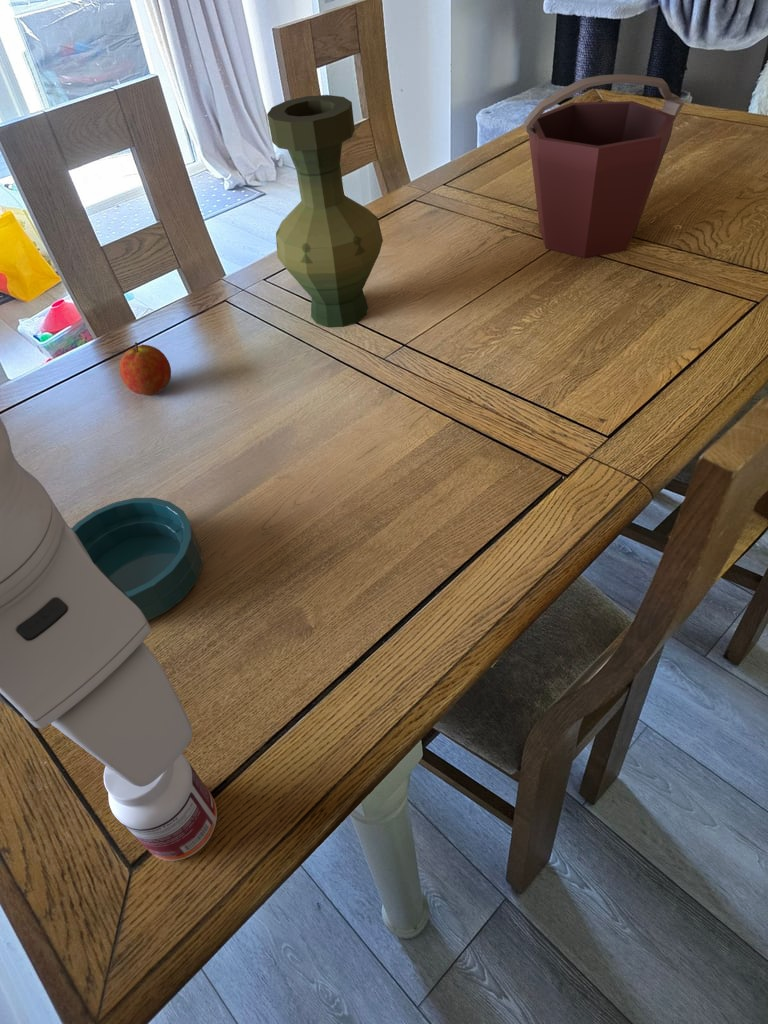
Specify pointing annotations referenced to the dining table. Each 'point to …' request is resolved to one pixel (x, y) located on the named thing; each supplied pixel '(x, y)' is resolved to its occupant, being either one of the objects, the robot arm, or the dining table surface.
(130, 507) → the bowl
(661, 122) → the bucket
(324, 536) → the dining table surface
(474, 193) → the dining table surface
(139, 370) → the fruit
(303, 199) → the vase
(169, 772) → the pill bottle
